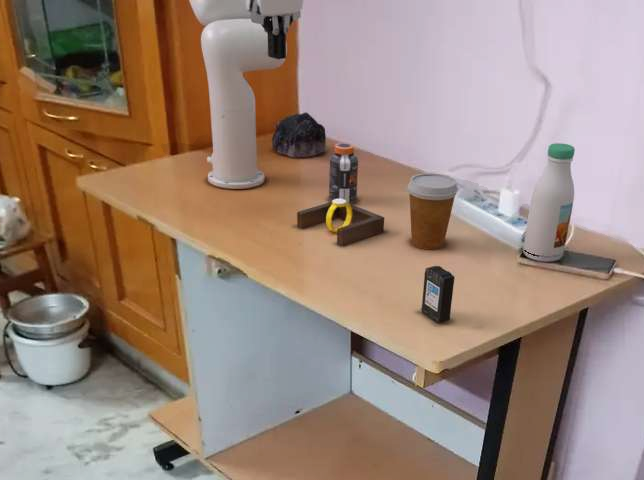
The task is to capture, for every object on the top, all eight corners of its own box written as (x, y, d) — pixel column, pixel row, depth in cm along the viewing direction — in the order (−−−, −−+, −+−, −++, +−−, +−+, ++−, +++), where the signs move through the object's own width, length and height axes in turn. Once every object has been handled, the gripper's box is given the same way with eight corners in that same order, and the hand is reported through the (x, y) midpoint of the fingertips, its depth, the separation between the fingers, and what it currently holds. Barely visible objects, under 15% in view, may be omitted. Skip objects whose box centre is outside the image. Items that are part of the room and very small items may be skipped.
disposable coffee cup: (457, 238, 167) (464, 176, 159) (445, 256, 159) (451, 192, 152) (411, 231, 169) (415, 169, 161) (397, 248, 162) (401, 184, 154)
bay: (297, 226, 168) (296, 211, 166) (338, 213, 175) (338, 199, 173) (342, 246, 161) (342, 230, 159) (383, 232, 168) (384, 217, 166)
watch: (345, 225, 170) (346, 195, 166) (354, 229, 168) (355, 199, 165) (323, 232, 167) (323, 202, 163) (332, 236, 165) (333, 206, 161)
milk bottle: (538, 265, 158) (558, 154, 145) (514, 250, 163) (531, 142, 151) (571, 259, 161) (593, 150, 148) (546, 244, 166) (565, 138, 153)
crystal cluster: (278, 144, 214) (273, 102, 207) (331, 142, 213) (328, 101, 206) (269, 164, 204) (263, 121, 198) (324, 163, 203) (320, 120, 196)
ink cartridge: (420, 312, 140) (424, 266, 135) (431, 309, 141) (436, 263, 136) (438, 324, 137) (443, 277, 132) (449, 321, 138) (454, 275, 133)
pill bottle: (353, 206, 179) (355, 150, 172) (326, 203, 180) (327, 147, 173) (359, 196, 183) (361, 142, 176) (332, 194, 184) (333, 139, 177)
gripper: (293, -66, 150) (294, 49, 162) (226, -62, 142) (232, 58, 153) (321, -61, 146) (320, 56, 158) (254, -58, 138) (258, 66, 149)
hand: (277, 57), depth 155 cm, fingers closed
